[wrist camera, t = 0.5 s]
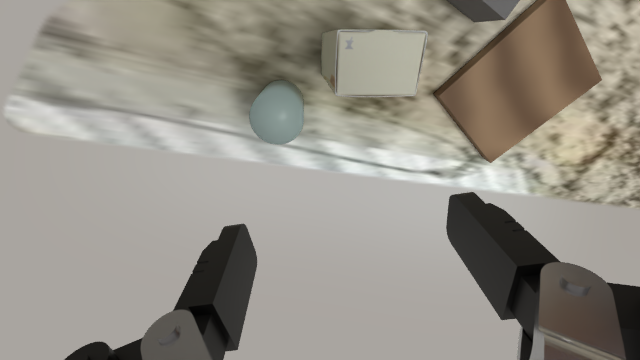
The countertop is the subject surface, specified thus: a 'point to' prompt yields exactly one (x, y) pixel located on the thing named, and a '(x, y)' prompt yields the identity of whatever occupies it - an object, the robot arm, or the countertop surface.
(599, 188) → the countertop surface
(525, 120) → the wooden board
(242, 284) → the robot arm
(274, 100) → the grey-green rounded block
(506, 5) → the rubber block
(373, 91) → the skincare box
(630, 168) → the countertop surface
